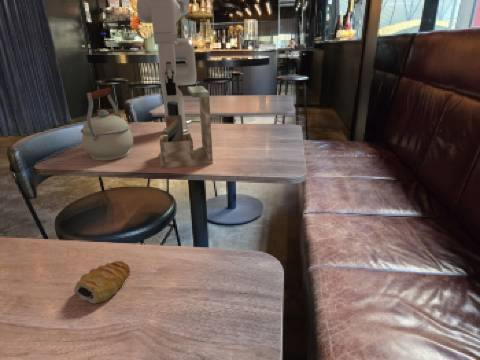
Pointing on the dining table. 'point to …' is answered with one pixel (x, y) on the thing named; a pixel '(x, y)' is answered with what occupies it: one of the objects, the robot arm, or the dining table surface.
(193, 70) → the robot arm
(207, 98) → the bottle holder
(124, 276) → the pastry
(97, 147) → the kettle
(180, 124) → the lotion bottle
